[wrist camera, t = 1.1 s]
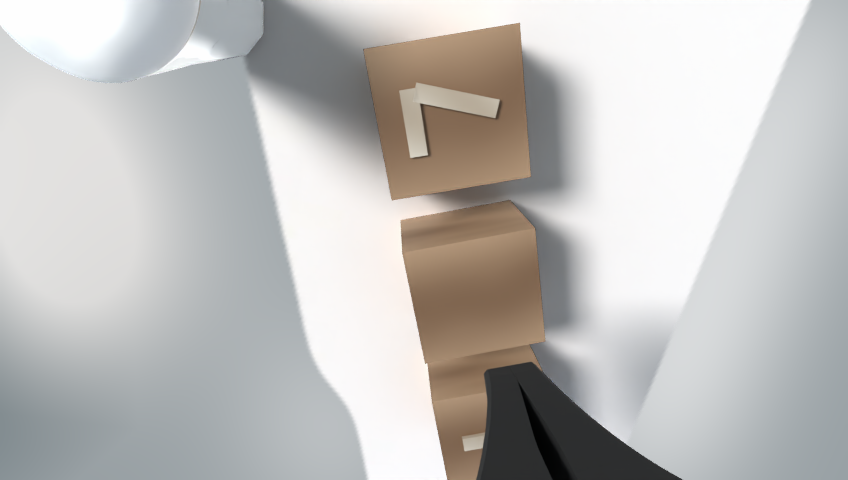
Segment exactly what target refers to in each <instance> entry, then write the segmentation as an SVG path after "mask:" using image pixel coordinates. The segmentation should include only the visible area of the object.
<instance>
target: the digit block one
mask: <svg viewBox="0 0 848 480" xmlns="http://www.w3.org/2000/svg"><path fill="white" fill-rule="evenodd" d="M526 362H533V363H534V364H536V365H537V367H538V368H539V369H540V370H541V371H542V369H541V367H540V365H539V363H538V361H537V359H536V357H535V355H534V353H533V351H532V349H531V347H530V345H523V346H518V347H513V348H507V349H502V350H496V351H491V352H486V353H480V354H475V355H469V356H464V357H459V358H453V359H448V360H442V361H437V362H432V363H428V372H429V380H430V389H431V397H432V404H433V409H434V414H435V419H436V425H437V430H438V435H439V440H440V445H441V450H442V455H443V460H444V465H445V470H446V475H447V480H476V478H477V474H478V470H479V465H480V460H481V455H482V449H483V443H484V436H485V429H486V417H487V394H486V387H485V380H484V373H485V371H486V370H487V369H492V368H498V367H504V366H509V365H515V364H521V363H526ZM542 372H543V371H542Z"/></svg>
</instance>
